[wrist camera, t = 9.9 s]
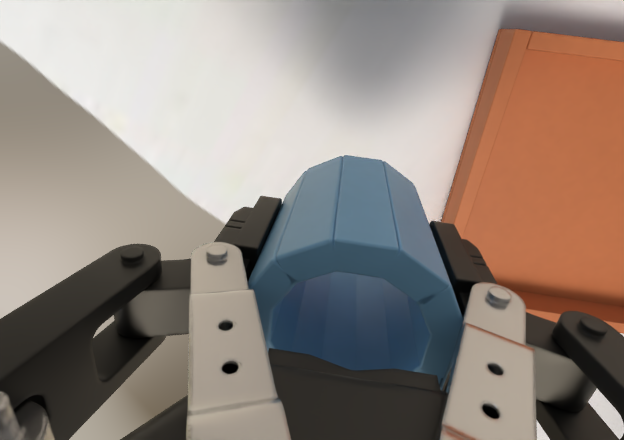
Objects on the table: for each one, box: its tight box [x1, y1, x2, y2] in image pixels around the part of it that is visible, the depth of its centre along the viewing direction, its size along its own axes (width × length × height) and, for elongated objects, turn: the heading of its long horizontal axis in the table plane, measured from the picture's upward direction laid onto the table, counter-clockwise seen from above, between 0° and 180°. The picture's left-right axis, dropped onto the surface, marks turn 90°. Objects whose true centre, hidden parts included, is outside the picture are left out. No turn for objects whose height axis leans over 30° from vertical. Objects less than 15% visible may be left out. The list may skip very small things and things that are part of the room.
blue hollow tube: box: [248, 155, 463, 383], centre depth 12 cm, size 5×5×6 cm
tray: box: [441, 29, 624, 333], centre depth 22 cm, size 17×17×2 cm
